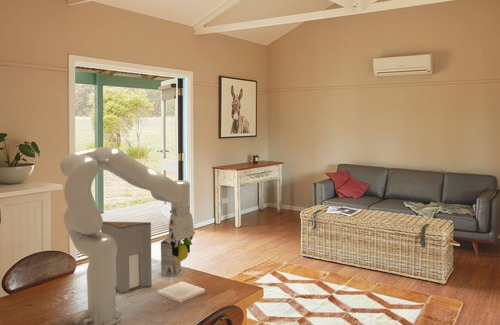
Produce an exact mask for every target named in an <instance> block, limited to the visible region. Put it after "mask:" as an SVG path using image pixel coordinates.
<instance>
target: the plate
mask: <svg viewBox="0 0 500 325" xmlns="http://www.w3.org/2000/svg"><path fill="white" fill-rule="evenodd" d="M205 292H206V289H205V288H203V287H200V286H197V285H194V284H191V283H189V282H185V281H184V280H183V281H179V282H177V283H174V284H171V285H169V286H166V287H164V288H161V289H159V290H157V291H156V294H157V295H159V296H162V297H165V298H168V299H170V300H172V301H175V302H177V303H182V302H185V301H188V300H190V299H193V298H194V297H197V296H199V295H202V294H204V293H205Z"/></svg>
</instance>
